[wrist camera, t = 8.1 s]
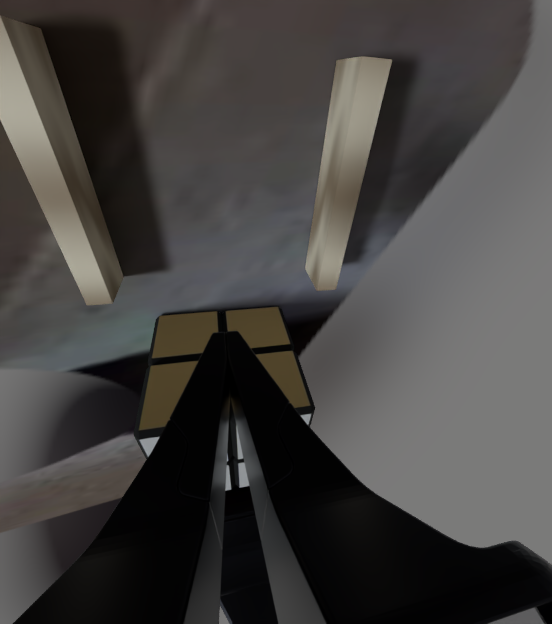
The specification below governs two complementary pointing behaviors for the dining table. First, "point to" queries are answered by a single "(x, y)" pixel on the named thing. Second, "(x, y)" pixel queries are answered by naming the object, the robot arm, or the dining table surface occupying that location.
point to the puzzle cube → (184, 357)
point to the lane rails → (80, 192)
